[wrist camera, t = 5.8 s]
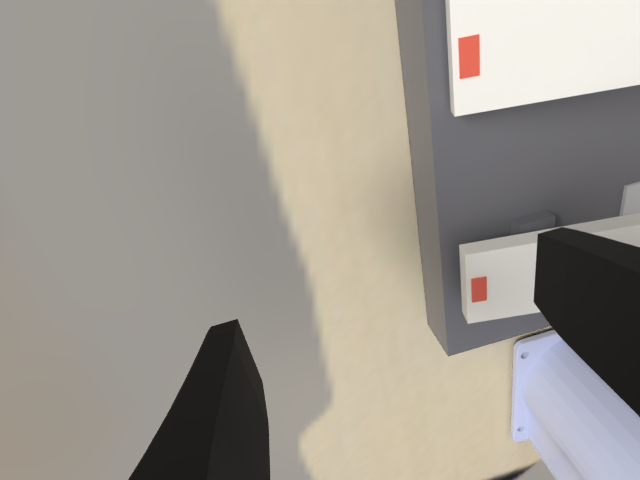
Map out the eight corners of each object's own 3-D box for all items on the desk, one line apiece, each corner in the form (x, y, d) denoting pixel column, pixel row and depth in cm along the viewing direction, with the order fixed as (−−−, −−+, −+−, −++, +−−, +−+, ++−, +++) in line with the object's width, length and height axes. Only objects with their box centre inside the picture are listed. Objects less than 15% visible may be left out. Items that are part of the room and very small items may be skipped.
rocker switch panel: (627, 266, 24) (678, 297, 21) (427, 324, 23) (453, 365, 20) (814, -690, 10) (1028, -948, 7) (332, -616, 9) (372, -872, 7)
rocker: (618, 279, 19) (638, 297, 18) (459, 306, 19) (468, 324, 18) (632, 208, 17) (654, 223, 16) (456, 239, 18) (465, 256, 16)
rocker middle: (668, 68, 14) (693, 75, 13) (448, 107, 15) (455, 117, 14) (693, -63, 12) (725, -67, 11) (443, -6, 13) (449, -5, 12)
